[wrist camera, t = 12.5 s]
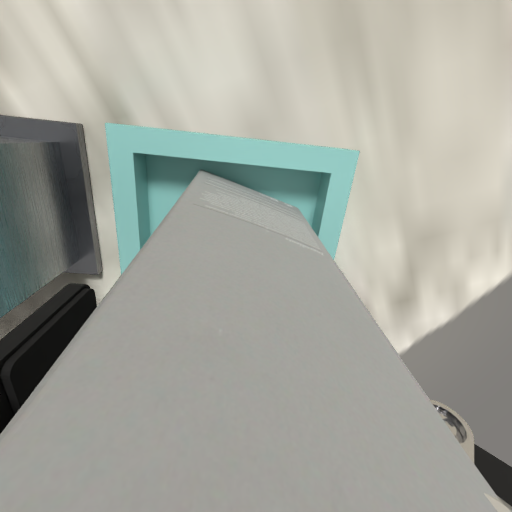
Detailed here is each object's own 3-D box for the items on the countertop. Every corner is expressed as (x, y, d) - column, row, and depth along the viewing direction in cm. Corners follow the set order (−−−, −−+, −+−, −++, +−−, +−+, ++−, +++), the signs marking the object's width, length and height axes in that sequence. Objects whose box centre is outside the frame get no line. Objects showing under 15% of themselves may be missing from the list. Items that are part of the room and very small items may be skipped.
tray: (141, 323, 20) (128, 345, 18) (125, 124, 15) (105, 122, 13) (304, 333, 21) (311, 355, 19) (344, 148, 16) (359, 150, 14)
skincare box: (200, 166, 15) (-543, 614, 1) (312, 212, 17) (736, 712, 2) (162, 286, 19) (-151, 830, 4) (259, 318, 20) (289, 819, 5)
